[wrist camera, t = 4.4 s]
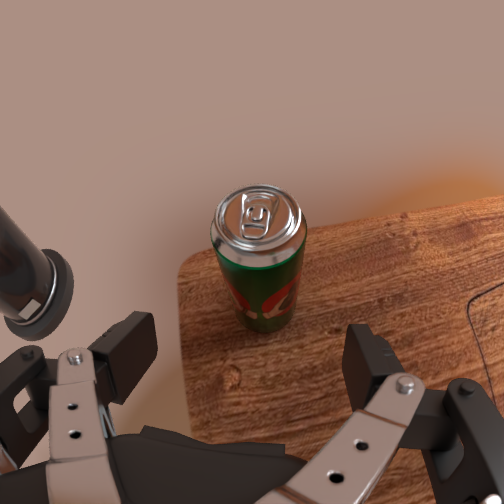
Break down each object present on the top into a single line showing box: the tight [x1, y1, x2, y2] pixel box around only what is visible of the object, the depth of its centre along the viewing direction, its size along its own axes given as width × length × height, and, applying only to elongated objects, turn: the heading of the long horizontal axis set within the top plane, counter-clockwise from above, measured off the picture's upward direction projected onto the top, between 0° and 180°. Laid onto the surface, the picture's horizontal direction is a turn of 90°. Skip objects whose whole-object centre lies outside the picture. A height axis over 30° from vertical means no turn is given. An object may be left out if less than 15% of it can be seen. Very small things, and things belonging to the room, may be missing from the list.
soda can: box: [210, 183, 307, 333], centre depth 20 cm, size 5×5×12 cm
